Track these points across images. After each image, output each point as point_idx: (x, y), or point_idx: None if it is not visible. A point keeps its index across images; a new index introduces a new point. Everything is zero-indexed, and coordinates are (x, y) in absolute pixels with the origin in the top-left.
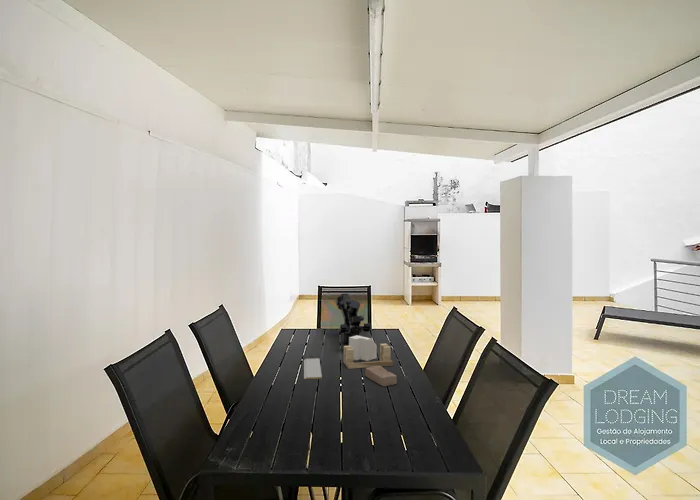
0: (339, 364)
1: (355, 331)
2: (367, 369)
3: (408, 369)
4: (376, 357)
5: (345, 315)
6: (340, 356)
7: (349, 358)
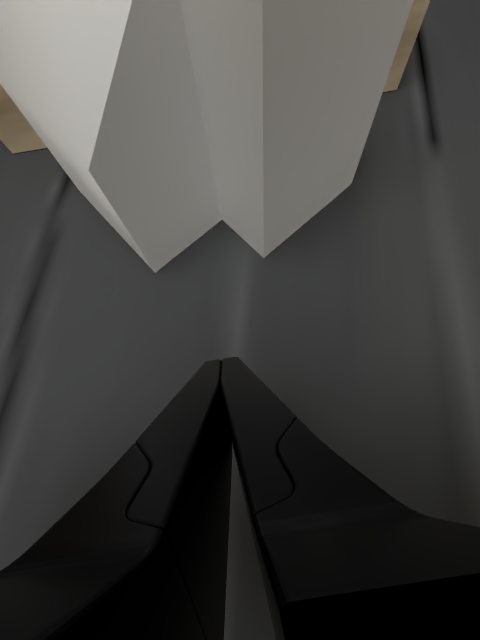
0: (428, 47)
1: (270, 519)
2: None
3: None
4: (77, 187)
5: None
6: (450, 247)
7: None
